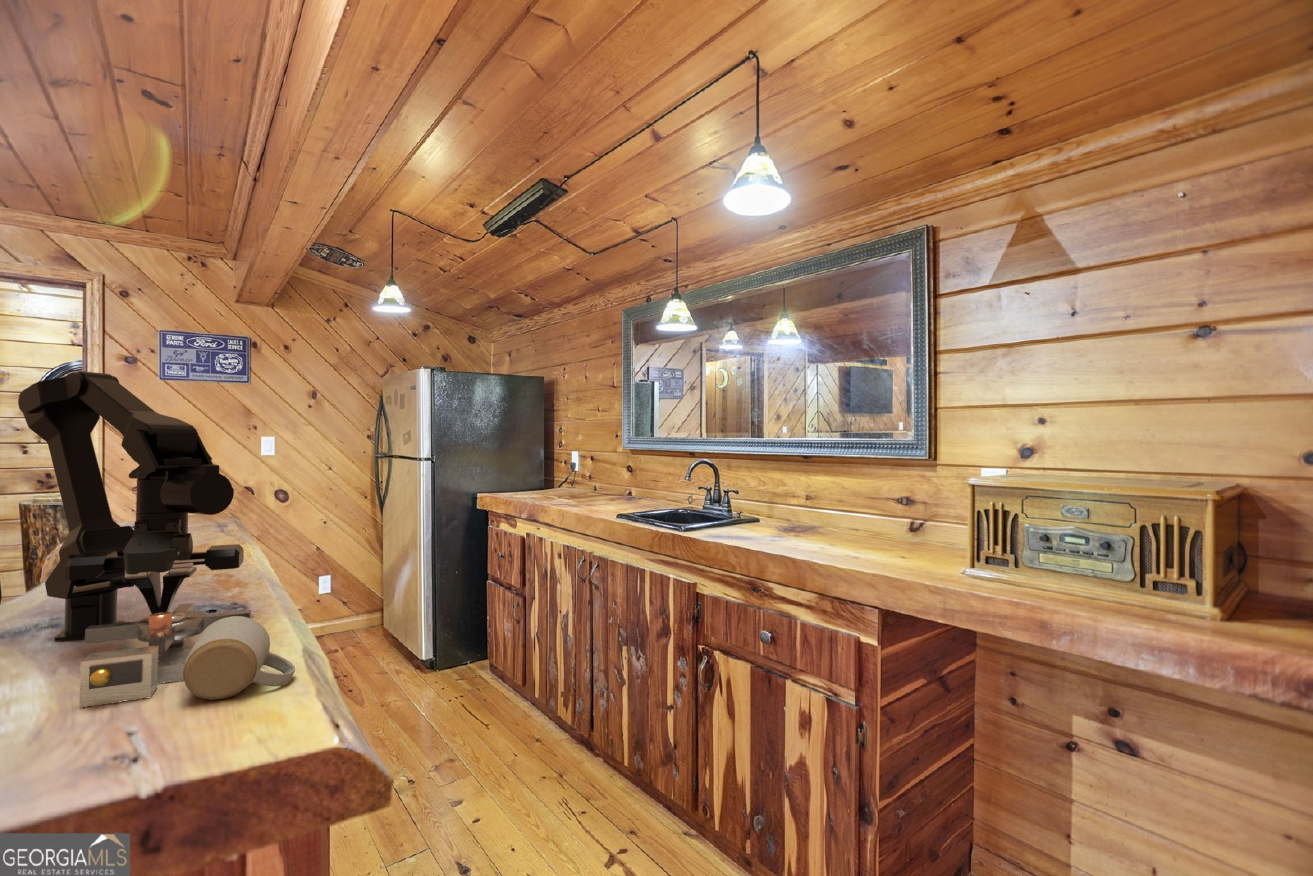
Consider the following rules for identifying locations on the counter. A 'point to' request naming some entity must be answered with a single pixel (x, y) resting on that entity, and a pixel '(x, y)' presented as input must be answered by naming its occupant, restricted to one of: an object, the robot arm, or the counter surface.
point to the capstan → (159, 627)
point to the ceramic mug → (233, 659)
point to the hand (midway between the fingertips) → (160, 622)
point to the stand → (131, 671)
